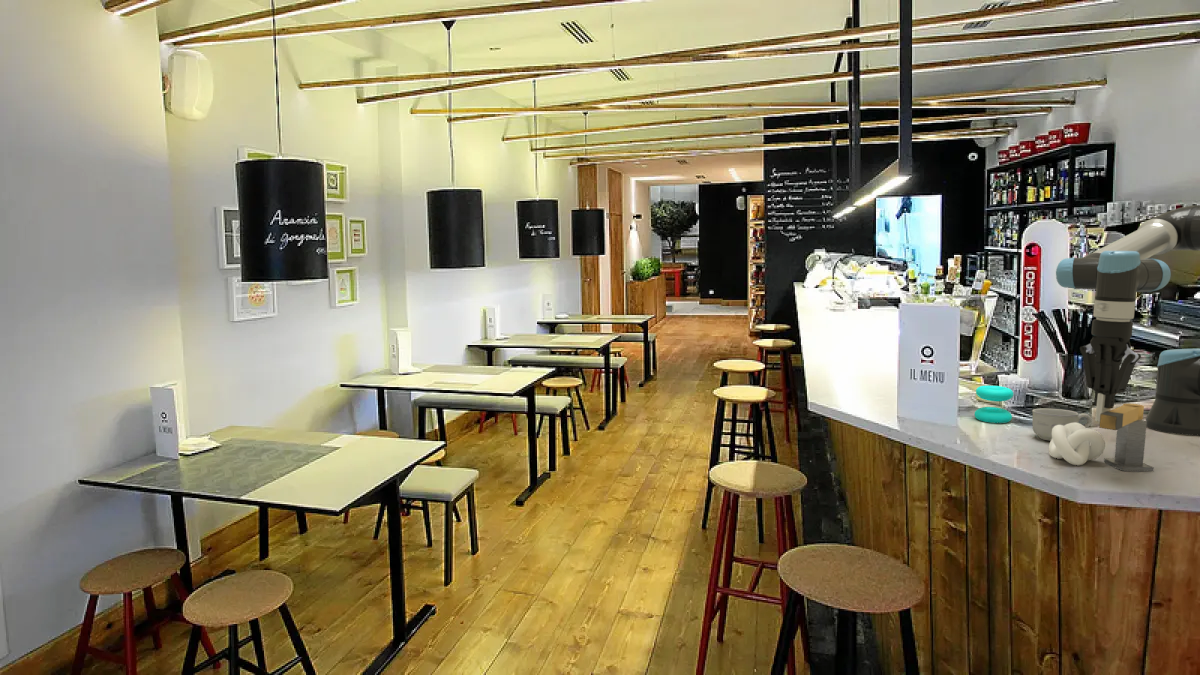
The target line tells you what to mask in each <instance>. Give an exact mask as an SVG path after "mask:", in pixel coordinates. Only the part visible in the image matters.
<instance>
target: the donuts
mask: <svg viewBox="0 0 1200 675" xmlns="http://www.w3.org/2000/svg"><path fill="white" fill-rule="evenodd" d="M975 394H976V395H977V397H979V398H980V399H983V400H985V401H990V402H1005V401H1010V400H1011V399H1012V398H1013V397H1014V391H1013V390H1012V389H1011V388H1010V387H1006V386H1000V385H980V386H978V387H976V390H975ZM974 418H976V420H979V421H980V422H985V423H989V424H1007V423H1009V422H1011V420H1012V418H1013V415H1012V413H1011V412H1010V411H1009V410H1007V409H1005V408H1002V407H998V406H997V407H996V406H982V407H979V408H977V409H975V411H974Z"/></svg>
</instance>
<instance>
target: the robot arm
mask: <svg viewBox="0 0 1200 675" xmlns="http://www.w3.org/2000/svg"><path fill="white" fill-rule="evenodd" d="M1172 251H1173V252H1174V251H1200V204H1195V205H1188V206H1187V205H1186V206H1183V207H1178V208H1174V209H1172V210H1168V211H1166V212H1163V213H1161V214H1159V215H1156V216H1153V217H1152V218H1150V219H1148V220H1146V221H1144V222H1142V223H1141V224H1140V225H1139V226H1138V228H1137V230H1134V231H1133V232H1131V233H1129V234H1126V235H1124V236H1123V237H1121V238H1120V239H1119V238H1118V239H1117V240H1115V241H1113V242H1111V243H1109V244H1107V245H1105V246H1103V247H1101V248H1099V249H1097V250H1094V252H1091V253H1089V254H1087V255H1085V256H1083V257H1075V256H1074V257H1066V258H1063V259H1061V261H1060V262H1059V263H1058V265H1057V266H1056V270H1055V278H1056V283H1058V285H1059V286H1060V287H1063V288H1067V289H1073V290H1094V291H1095V297H1094V306H1093V317H1094V318H1093V320H1092V323H1091V335H1092V338H1091V339H1090V343H1088V344H1086V345H1083V346H1080V347H1079V350H1080V353H1081V356H1082V357H1083V358H1082V359H1083V365H1084V372H1085V382H1086V386H1087V389H1091V390H1093V391H1094V400H1093V404H1094V406H1096V407H1095V417H1094V421H1095V422H1097V423H1100V414H1101V413H1104V412H1106V411H1110V410H1112V409H1114V406H1115V397H1116V395H1117V394H1123V393H1125V392H1126V390H1127V387H1128V383H1129V381H1130V379H1131V376H1132V374H1133V371H1134V370H1135V366H1136V364H1137V363H1138V361H1139V360H1140V359H1141V358H1142V355H1141V353H1138V352H1137V353H1136V352H1134V351H1133V349H1131V348H1132V345H1131V342H1130V339H1131V338H1132V334H1133V328H1134V327H1133V326H1134V323H1133V321H1131V320H1133V319H1134V318H1135V310H1136V309H1135V308H1136V298H1137V293H1141V292H1143V293H1144V292H1145V293H1152V292H1154V291H1159V290H1162V289H1163V288H1164V287H1166V286H1167V285H1168V284H1169V282H1170V280H1171V276H1172V275H1171V269H1170V267H1169V265H1168V264H1167V263H1166V262H1165V261H1163V260H1161V259H1157V258H1151V257H1153V256H1155V255H1163V254H1166V253H1169V252H1172ZM1158 356H1159V358H1158V362H1157V366H1156V367H1157V369H1156V370H1157V371H1156V382H1155V383H1156V385H1155V395H1154V396H1155V397H1154V401H1153V404H1152V405H1151V407H1150V409H1149V412H1148V413H1147V415H1146V417H1145V421H1147V425H1146V428H1148V429H1151V430H1154V431H1159V432H1162V433H1169V434H1174V435H1184V436H1200V348H1177V349H1176V348H1175V349H1174V348H1173V349H1167V350H1163V351H1161V352H1160V354H1159V355H1158ZM1123 359H1124V360H1123Z"/></svg>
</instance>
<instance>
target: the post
mask: <svg viewBox="0 0 1200 675" xmlns="http://www.w3.org/2000/svg"><path fill="white" fill-rule="evenodd" d="M1146 425H1147V421H1146V420H1144V419H1142V420H1136V421H1134V422H1132V423H1130V424H1128V425H1125V426H1123V427H1122V428H1120V429H1118V430H1116V440H1115V450H1114V451H1115V452H1114V458H1113V457H1112V458H1111V457H1109V458H1107V457H1106V458H1104V459H1103V463H1104V462H1105V464H1106V463H1107V465H1108V464H1109V466H1110V467H1113V468H1115V467H1116V468H1115V469H1117V468H1118V469H1117V470H1119V469H1120V470H1119V471H1121V470H1124V471H1123V472H1147V471H1153V472H1154V471H1155V467H1153V466H1151V465H1150V464H1148V463H1145V462H1144V458H1145V457H1144V456H1145V445H1146V435H1147V434H1146V433H1147V426H1146Z"/></svg>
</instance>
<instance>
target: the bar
mask: <svg viewBox="0 0 1200 675" xmlns="http://www.w3.org/2000/svg"><path fill="white" fill-rule="evenodd" d="M1144 408H1145V406H1144V405H1143V404H1138V403H1123V404H1122V405H1121V406H1119V407H1116V408H1112V409H1110V411H1106V412H1104V413H1101V414H1100V422H1099V426H1098V427H1099V429H1104V430H1111V431H1117V430H1118V429H1120V428H1122V427H1123V426H1125V425H1128V424H1130V423H1132V422H1134V421H1136V420H1144V410H1145V409H1144Z"/></svg>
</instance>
